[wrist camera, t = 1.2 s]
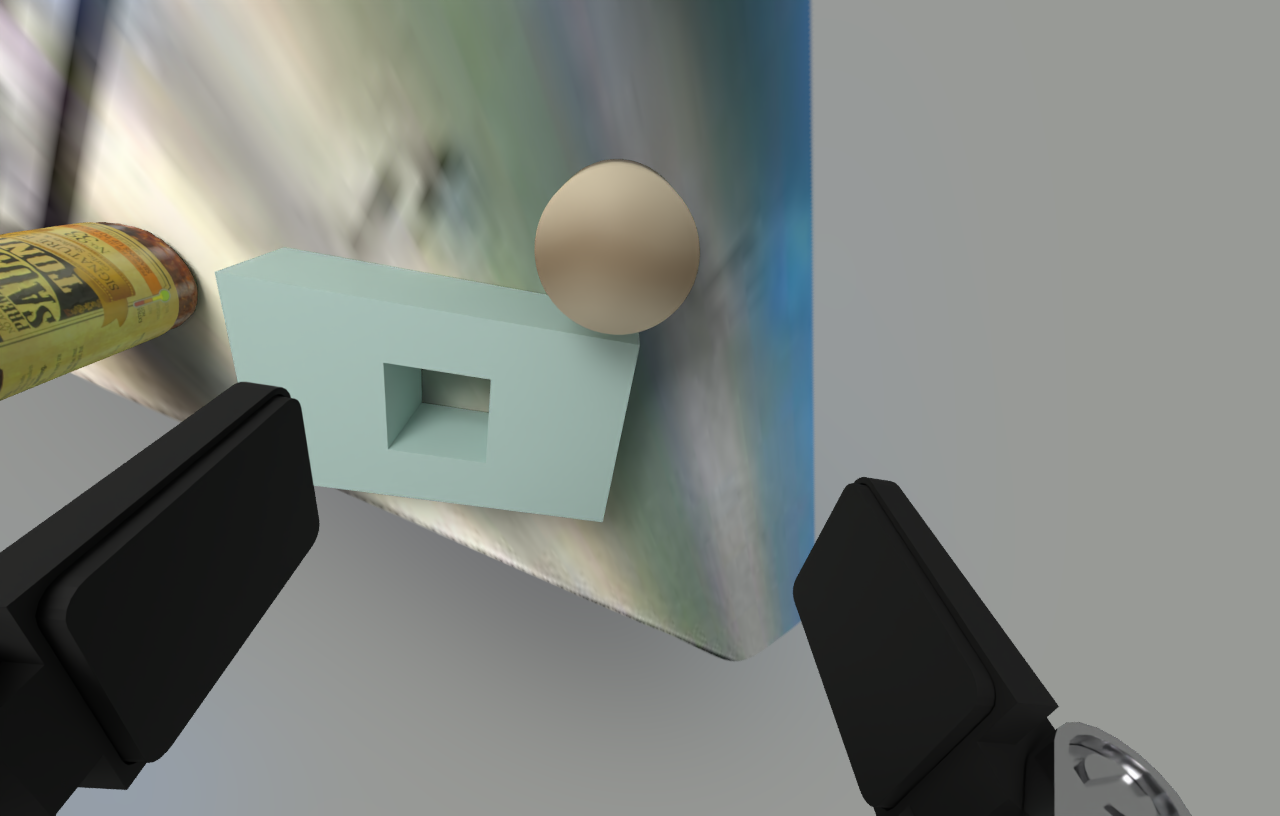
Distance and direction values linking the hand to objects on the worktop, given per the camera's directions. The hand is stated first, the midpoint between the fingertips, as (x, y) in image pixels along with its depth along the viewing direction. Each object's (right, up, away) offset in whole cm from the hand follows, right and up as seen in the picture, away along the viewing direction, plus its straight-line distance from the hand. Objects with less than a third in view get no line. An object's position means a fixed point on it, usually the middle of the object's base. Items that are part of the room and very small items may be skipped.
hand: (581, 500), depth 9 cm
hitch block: (-10, +4, +23) cm, 26 cm away
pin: (0, +12, +19) cm, 23 cm away
